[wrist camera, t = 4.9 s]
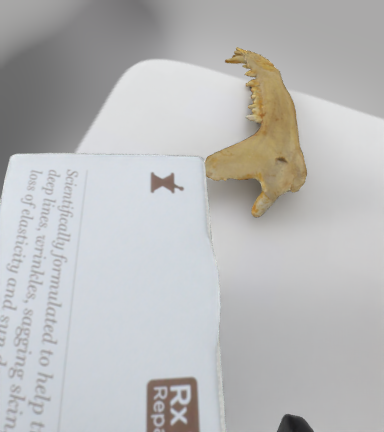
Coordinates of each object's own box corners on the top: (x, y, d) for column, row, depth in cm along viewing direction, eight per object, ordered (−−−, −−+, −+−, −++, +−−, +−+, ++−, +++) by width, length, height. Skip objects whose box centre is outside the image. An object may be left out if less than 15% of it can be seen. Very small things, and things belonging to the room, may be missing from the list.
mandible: (193, 191, 18) (221, 156, 16) (225, 56, 28) (245, 22, 26) (273, 229, 20) (310, 202, 17) (277, 88, 30) (300, 58, 27)
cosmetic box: (91, 283, 17) (-10, 134, 6) (173, 281, 18) (207, 141, 7) (80, 415, 15) (-128, 544, 4) (177, 408, 15) (243, 500, 4)
